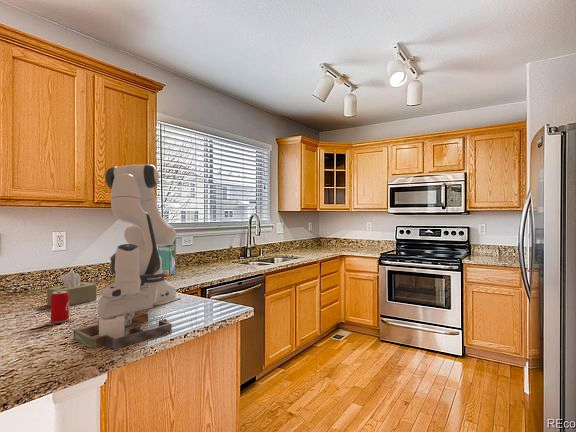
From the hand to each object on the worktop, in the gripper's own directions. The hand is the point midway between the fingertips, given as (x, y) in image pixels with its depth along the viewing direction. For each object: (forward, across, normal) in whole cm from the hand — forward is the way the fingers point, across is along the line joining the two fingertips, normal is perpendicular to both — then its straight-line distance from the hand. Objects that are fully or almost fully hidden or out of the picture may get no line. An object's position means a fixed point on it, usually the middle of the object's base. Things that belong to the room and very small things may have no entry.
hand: (127, 324), depth 132 cm
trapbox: (+3, +2, +3) cm, 4 cm away
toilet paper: (+3, +5, 0) cm, 6 cm away
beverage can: (+3, +10, -32) cm, 34 cm away
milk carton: (+3, -81, -92) cm, 122 cm away
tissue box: (+3, -6, -60) cm, 60 cm away
